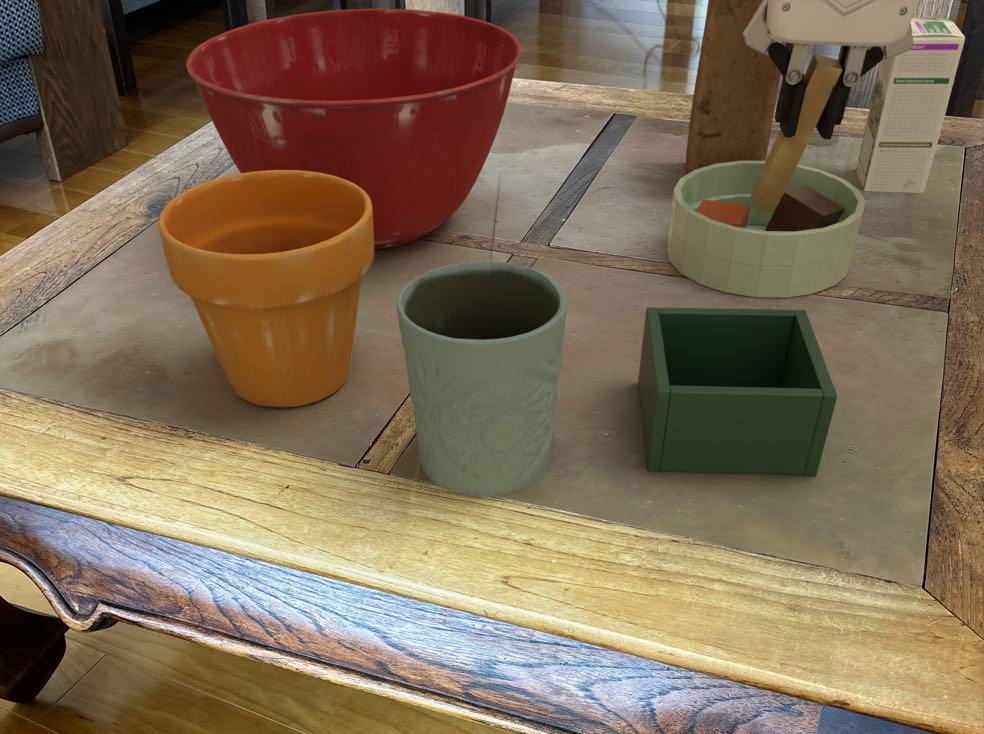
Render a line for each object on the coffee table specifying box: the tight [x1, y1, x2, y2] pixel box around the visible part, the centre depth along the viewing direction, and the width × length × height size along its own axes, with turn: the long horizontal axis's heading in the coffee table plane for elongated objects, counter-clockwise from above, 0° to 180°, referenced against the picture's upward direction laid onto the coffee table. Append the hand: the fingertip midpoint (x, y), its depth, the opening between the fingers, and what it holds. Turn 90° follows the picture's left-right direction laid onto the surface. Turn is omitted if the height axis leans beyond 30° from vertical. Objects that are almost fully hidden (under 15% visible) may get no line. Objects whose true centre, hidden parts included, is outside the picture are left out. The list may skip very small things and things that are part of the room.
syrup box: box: [855, 17, 966, 194], centre depth 95 cm, size 6×6×14 cm
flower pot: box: [157, 170, 375, 408], centre depth 72 cm, size 14×14×13 cm
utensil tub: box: [637, 307, 838, 478], centre depth 67 cm, size 11×11×7 cm
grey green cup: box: [395, 261, 568, 498], centre depth 64 cm, size 10×10×12 cm
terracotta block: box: [696, 199, 750, 228], centre depth 87 cm, size 4×4×4 cm
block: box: [684, 0, 786, 176], centre depth 95 cm, size 11×8×20 cm
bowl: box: [666, 161, 866, 299], centre depth 87 cm, size 15×15×6 cm
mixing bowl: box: [185, 8, 523, 250], centre depth 92 cm, size 28×28×16 cm
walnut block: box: [765, 186, 845, 232], centre depth 86 cm, size 4×4×4 cm
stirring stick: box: [751, 53, 842, 212], centre depth 82 cm, size 2×2×12 cm
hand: (805, 130), depth 82 cm, fingers closed on stirring stick, 2 cm apart
